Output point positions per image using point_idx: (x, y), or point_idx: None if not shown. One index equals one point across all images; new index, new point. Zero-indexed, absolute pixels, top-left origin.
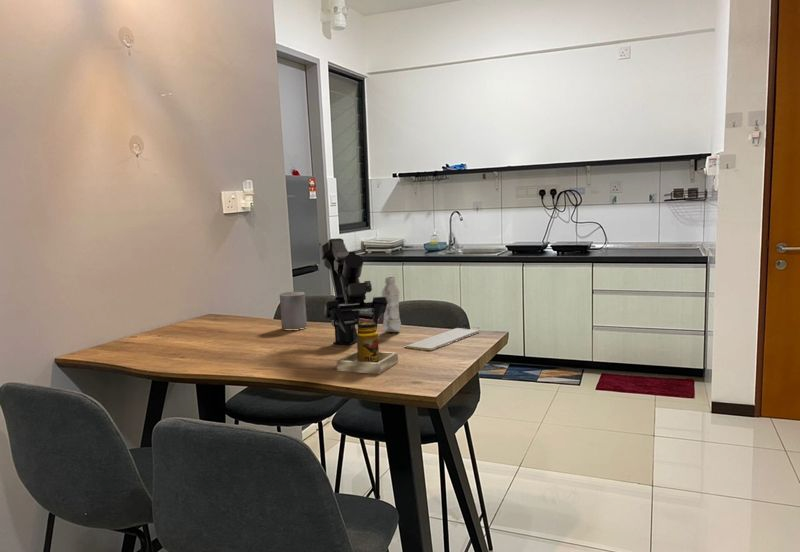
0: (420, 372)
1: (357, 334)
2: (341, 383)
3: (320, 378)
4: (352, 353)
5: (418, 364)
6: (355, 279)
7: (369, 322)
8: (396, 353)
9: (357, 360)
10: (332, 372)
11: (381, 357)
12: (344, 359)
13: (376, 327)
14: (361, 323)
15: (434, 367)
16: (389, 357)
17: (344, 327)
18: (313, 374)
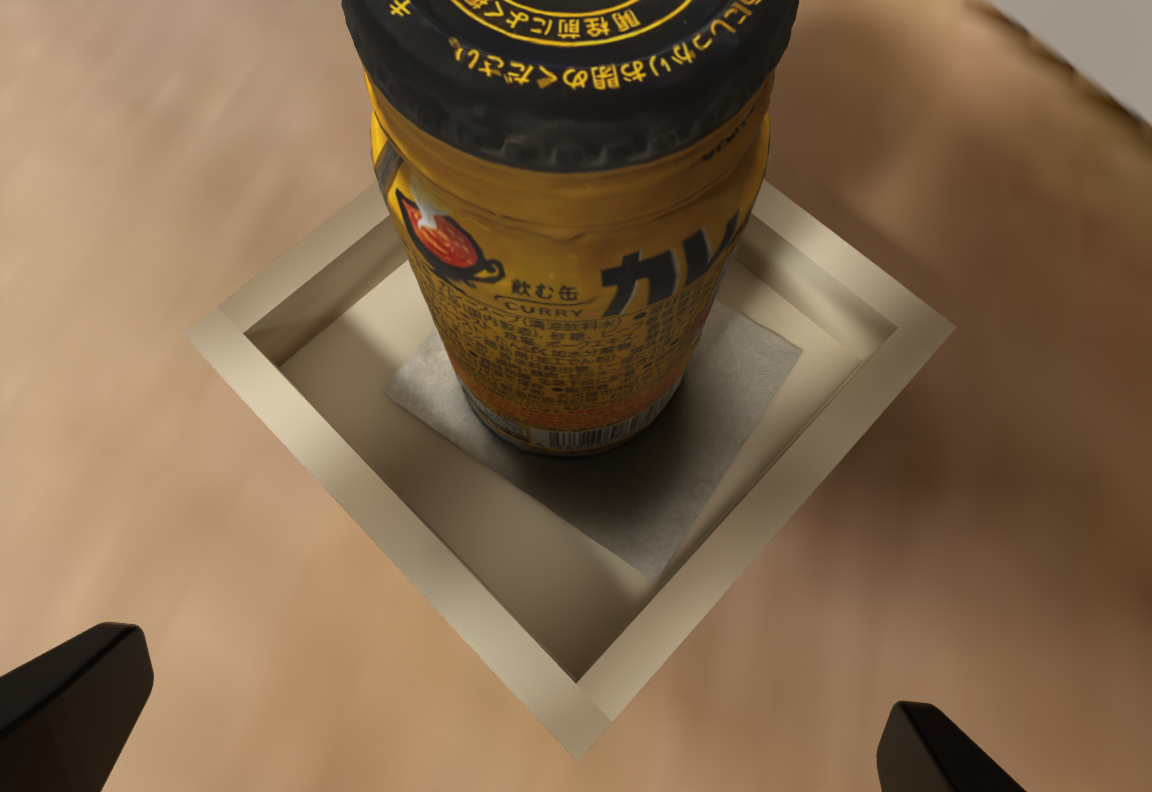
0: (259, 5)
1: (766, 113)
2: (916, 22)
3: (1078, 211)
4: (701, 589)
5: (124, 208)
6: None
7: (461, 1)
8: (214, 310)
9: (640, 544)
10: (955, 339)
11: (364, 457)
12: (850, 379)
13: (114, 622)
14: (689, 2)
15: (77, 69)
16: (373, 185)
17: (986, 768)
18: (1145, 361)
